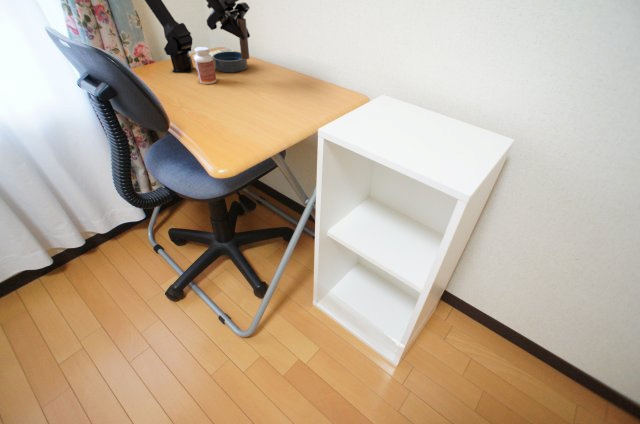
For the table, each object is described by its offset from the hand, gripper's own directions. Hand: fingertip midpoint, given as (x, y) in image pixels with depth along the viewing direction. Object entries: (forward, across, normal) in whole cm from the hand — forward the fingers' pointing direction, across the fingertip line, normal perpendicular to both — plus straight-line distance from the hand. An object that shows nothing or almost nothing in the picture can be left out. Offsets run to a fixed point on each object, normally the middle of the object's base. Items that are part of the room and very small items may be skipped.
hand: (246, 38), depth 105 cm
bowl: (0, +11, +21) cm, 24 cm away
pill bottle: (0, -6, +21) cm, 22 cm away
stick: (+4, 0, +6) cm, 7 cm away
